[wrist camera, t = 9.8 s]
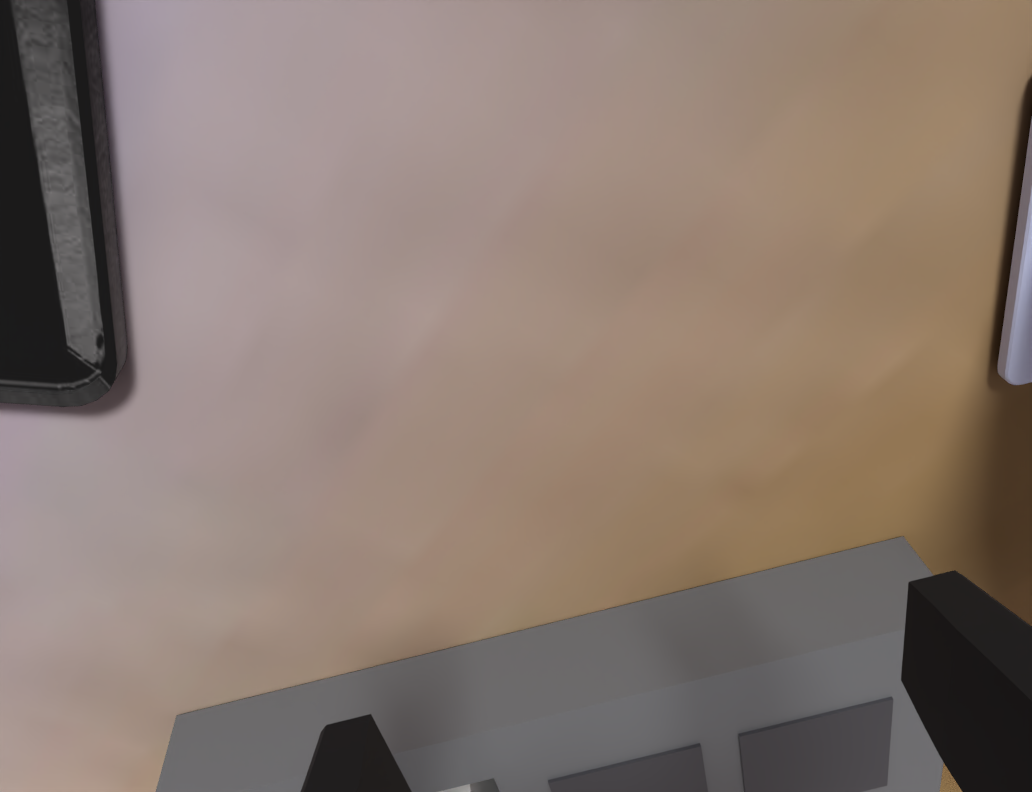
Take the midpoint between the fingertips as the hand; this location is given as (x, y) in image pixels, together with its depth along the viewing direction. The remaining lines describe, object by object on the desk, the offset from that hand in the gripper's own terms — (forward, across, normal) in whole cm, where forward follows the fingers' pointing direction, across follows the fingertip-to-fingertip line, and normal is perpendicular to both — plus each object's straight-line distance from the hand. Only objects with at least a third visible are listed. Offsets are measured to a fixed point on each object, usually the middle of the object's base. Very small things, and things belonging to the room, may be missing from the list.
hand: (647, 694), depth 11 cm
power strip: (+9, +2, +14) cm, 17 cm away
